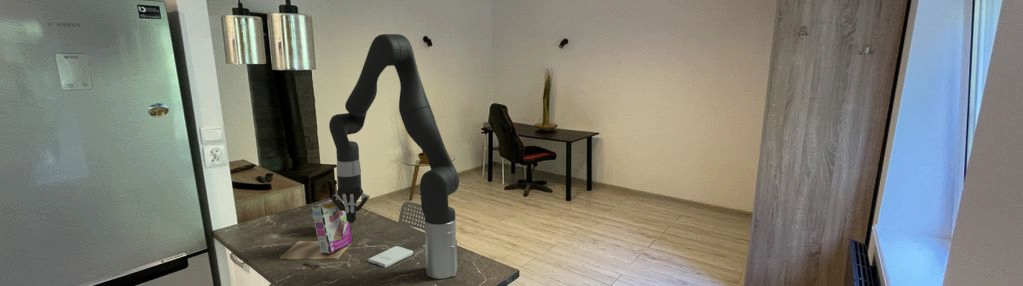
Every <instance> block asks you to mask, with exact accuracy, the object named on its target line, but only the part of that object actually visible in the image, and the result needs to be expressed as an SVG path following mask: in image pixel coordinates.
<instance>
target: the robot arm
mask: <svg viewBox="0 0 1023 286" xmlns="http://www.w3.org/2000/svg"><path fill="white" fill-rule="evenodd" d="M391 66H393V67H394V68H395V71H396V74H397V76H398V80H399V87H400V88H399V89H400V90H399V91H400V92H399V101H398V110H399V114H400V118H401V120H402V124H403V125H404V126H403V127H404V128H405V132H406V133H407V134H408V136H409V137H410V139H412V141H413V142H415V144H416V145H417V146H418V147H419V148H420V149H421V150H422V152H423V153H424V155H425V157H426V160H427V162H428V165H429V168H430V169H429V170H428V171H426V172H424V173H423V174H422V176H421V178H420V181H419V182H420V183H419V191H420V192H419V193H420V203H421V204H420V205H421V207H420V208H421V211H422V214H423V215H424V239H425V269H426V272H425V273H426V275H427V276H428V277H429V278H432V279H436V280H437V279H448V278H451V277H456V275H457V271H458V240H457V237H456V234H457V232H456V230H457V229H456V209H454V208H453V207H451V206H449V196H450V195H452V194H454V193H456V191H457V190H458V188H459V186H460V177H459V173H458V172H457V169H456V167H455V165H454V163H453V161H452V158H451V157H450V154H449V152H448V151H447V148H446V145H445V144H444V143H445V142H444V141H443V138H442V135H441V133H440V130H439V127H438V125H437V122H436V121H437V120H436V118H435V116H434V114H433V113H434V112H433V110H432V107H431V105H430V101H429V100H428V97H427V94H426V92H425V88H424V85H423V82H422V80H421V77H420V74H419V69H418V64H417V62H416V57H415V54H414V49H413V47H412V45H411V42H410V40H409V39H408V38H407V37H406V36H405V35H402V34H397V33H393V34H392V33H390V34H389V33H384V34H378V35H377V36H376V37H374V39H373V40H372V41H371V44H370V47H369V48H368V52H367V55H366V57H365V60H364V62H363V66H362V70H361V72H360V75H359V77H358V80H357V81H356V84H355V85H354V87H353V89H352V91H351V93H350V94H349V96H348V97H347V100H346V101H345V105H344V106H345V110H346V111H347V112H345V113H339V114H334V115H333V116H331V118H330V120H329V126H328V128H329V131H330V135H331V137H332V140H333V143H334V147H335V149H336V151H335V152H336V178H337V179H336V180H337V182H336V183H337V190H336V193H335V194H333V195H332V196H331V197H330V199H331V200H332V201H333V202H334V203H335V205H336V206H337V207H338V208H339V209H340V210H341V211H345V212H346V220H347V221H348V223H350V224H354V222H355V221H356V220H357V212H359V211H360V210H361V209H362V208H363V207H364V205H365V204H366V203H367V201H368V200H369V199H370V194H369V195H368V194H365V193H364V190H363V188H362V175H361V172H362V169H361V161H360V151H359V150H360V149H359V148H360V147H359V144H358V143H357V141H351V140H349V137H348V135H354V134H357V133H359V132H360V131H361V130H362V129H363V127H364V125H365V121H366V116H367V113H368V111H369V109H370V107H371V106H372V104H373V103H374V101H375V99H376V96H377V93H378V81H379V77H380V75H381V74H382V72H384V71H385V69H386V68H387V67H391ZM340 198H341V199H342V201H343V202H344V203H343V202H342V201H341V200H340ZM359 199H360V203H359V204H358V201H359ZM357 204H358V205H357Z"/></svg>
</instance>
